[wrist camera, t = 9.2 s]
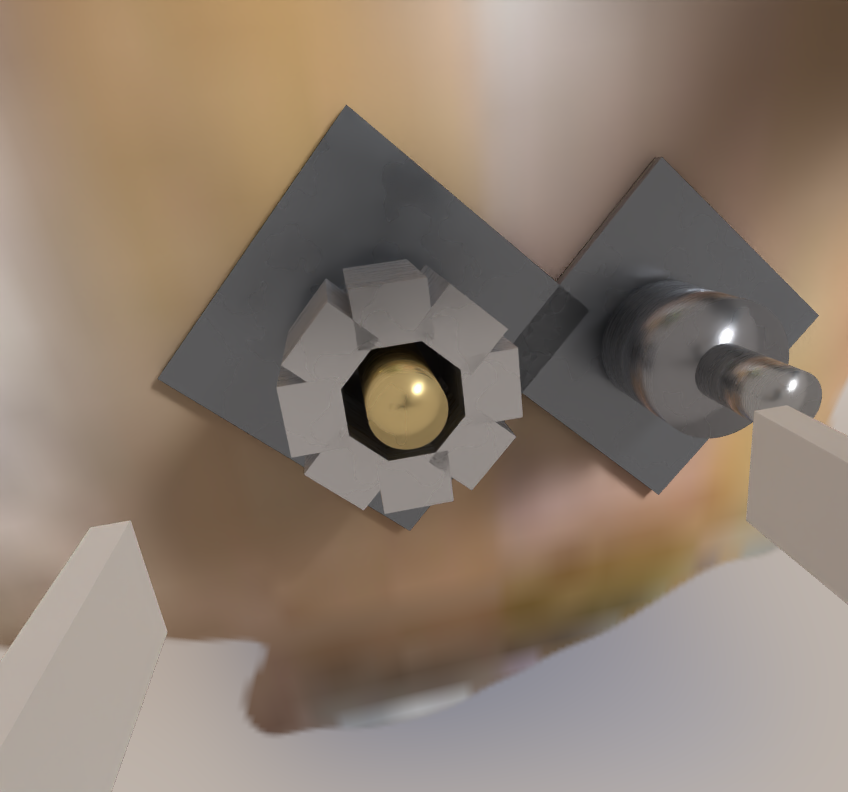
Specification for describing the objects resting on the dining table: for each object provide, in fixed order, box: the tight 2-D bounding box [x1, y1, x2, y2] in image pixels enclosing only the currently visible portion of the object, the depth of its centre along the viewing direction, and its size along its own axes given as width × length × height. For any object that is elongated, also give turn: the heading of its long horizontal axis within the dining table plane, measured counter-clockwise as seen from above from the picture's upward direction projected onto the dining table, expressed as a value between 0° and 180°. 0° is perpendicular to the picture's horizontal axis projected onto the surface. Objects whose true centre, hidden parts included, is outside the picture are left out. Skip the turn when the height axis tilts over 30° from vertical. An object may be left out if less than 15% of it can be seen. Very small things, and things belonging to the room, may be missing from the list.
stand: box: [513, 157, 822, 495], centre depth 26 cm, size 12×12×10 cm
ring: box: [276, 259, 523, 514], centre depth 23 cm, size 8×8×5 cm
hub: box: [158, 105, 588, 531], centre depth 24 cm, size 14×14×10 cm
